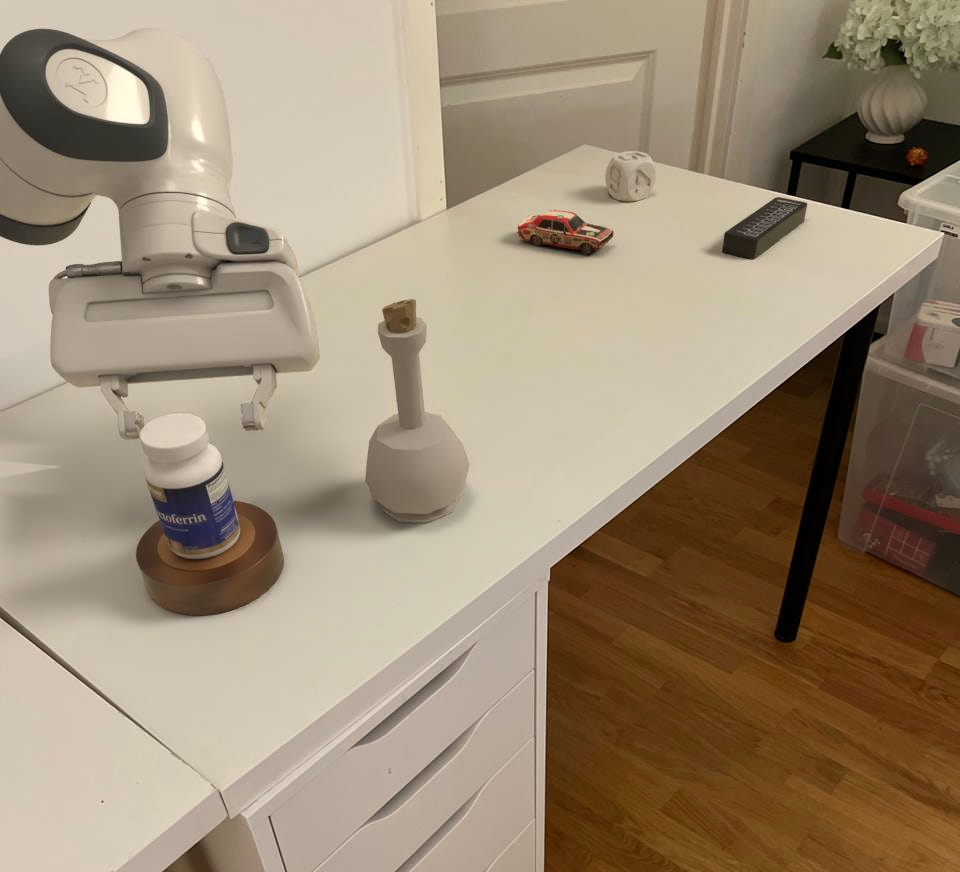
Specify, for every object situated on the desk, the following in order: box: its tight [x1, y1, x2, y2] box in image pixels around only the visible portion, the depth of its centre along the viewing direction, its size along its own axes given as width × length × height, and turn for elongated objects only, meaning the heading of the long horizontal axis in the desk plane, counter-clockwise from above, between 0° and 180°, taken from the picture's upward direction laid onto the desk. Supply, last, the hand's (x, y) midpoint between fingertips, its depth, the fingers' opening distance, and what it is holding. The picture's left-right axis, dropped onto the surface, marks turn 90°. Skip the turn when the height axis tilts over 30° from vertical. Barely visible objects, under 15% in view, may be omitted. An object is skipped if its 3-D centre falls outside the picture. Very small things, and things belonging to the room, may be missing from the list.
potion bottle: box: [364, 298, 470, 524], centre depth 78 cm, size 9×9×18 cm
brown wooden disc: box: [135, 500, 285, 616], centre depth 77 cm, size 11×11×3 cm
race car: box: [517, 209, 614, 257], centre depth 122 cm, size 5×12×5 cm, turn 54°
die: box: [604, 150, 657, 202], centre depth 132 cm, size 5×5×5 cm
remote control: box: [721, 196, 808, 260], centre depth 121 cm, size 4×14×2 cm, turn 142°
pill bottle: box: [139, 412, 240, 559], centre depth 73 cm, size 6×6×10 cm
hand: (193, 433), depth 75 cm, fingers open, 8 cm apart
